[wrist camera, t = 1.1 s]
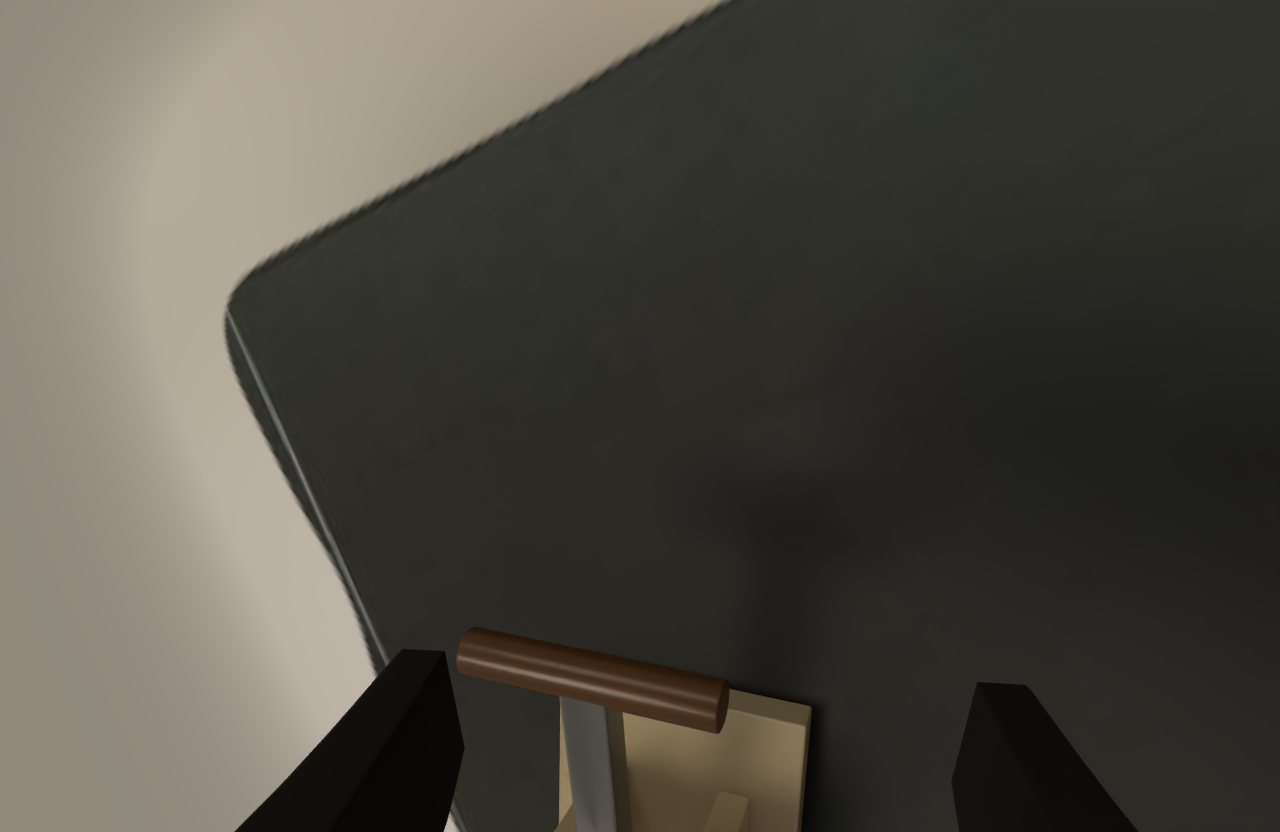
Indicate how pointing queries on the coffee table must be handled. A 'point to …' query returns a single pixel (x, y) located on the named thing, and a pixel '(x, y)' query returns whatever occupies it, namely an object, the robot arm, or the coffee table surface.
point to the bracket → (713, 771)
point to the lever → (596, 709)
